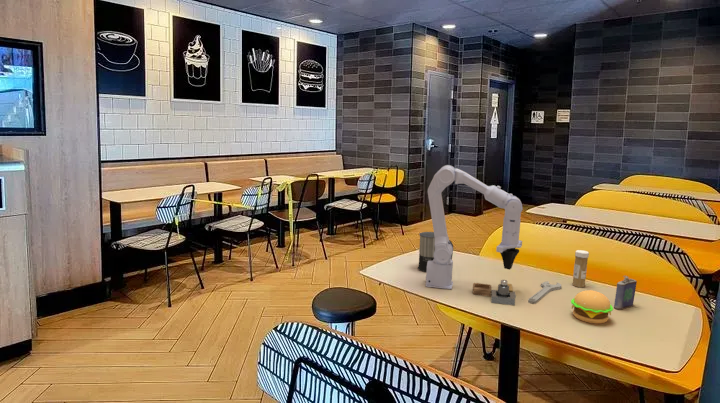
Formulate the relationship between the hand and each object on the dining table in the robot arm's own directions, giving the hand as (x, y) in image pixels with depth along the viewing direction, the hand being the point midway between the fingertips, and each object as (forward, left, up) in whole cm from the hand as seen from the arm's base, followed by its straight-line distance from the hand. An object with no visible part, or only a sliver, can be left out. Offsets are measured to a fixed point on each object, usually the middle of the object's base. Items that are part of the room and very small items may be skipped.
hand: (507, 268), depth 172 cm
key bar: (+1, -1, -9) cm, 9 cm away
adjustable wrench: (+13, +4, -10) cm, 16 cm away
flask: (+38, -1, -9) cm, 39 cm away
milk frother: (-28, +22, -9) cm, 37 cm away
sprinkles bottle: (+27, +17, -9) cm, 33 cm away
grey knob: (-1, -8, -9) cm, 12 cm away
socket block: (-1, -6, -9) cm, 11 cm away
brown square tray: (-8, -3, -9) cm, 12 cm away
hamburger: (+25, -15, -9) cm, 31 cm away
